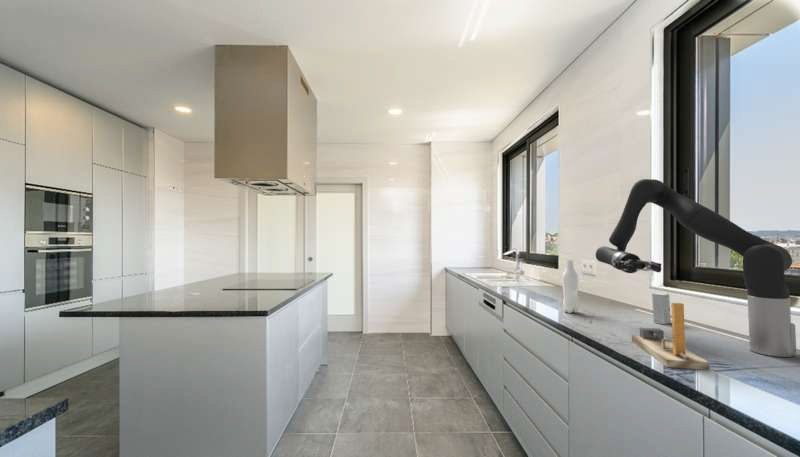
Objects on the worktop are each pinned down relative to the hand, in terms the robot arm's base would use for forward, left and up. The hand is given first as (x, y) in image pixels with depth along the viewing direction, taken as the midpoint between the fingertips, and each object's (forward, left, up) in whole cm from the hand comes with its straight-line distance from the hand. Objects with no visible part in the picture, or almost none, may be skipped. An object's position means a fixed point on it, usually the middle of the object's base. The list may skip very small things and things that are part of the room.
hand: (645, 268), depth 126 cm
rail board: (0, +13, -25) cm, 28 cm away
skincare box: (-17, -32, -25) cm, 44 cm away
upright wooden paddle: (0, +21, -23) cm, 31 cm away
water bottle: (+15, -48, -25) cm, 56 cm away
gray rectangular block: (0, +4, -23) cm, 23 cm away
